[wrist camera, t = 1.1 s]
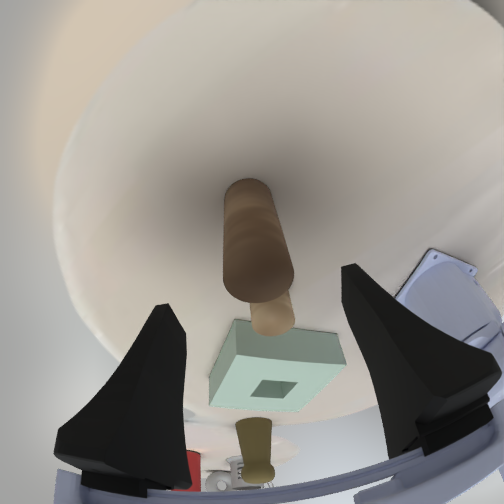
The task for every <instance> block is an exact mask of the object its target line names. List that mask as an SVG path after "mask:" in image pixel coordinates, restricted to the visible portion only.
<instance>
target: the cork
mask: <svg viewBox="0 0 504 504" xmlns="http://www.w3.org/2000/svg"><path fill="white" fill-rule="evenodd" d="M235 425H236V430H237V435H238V439H239V444H240V449H241V454H242V458H243V463H244V467H243V468H242V470H241V477H242V479H243V480H244V482H246V483H250V484H262V483H267V482H270V481H272V480H273V479H274V477H275V470H274V467H273V466H272V465H271V464H270V458H271V430H272V421H271V420H270V419H267V418H256V417H255V418H247V419H242V420H240V421H238V422H236V424H235Z"/></svg>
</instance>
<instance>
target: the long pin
mask: <svg viewBox="0 0 504 504" xmlns="http://www.w3.org/2000/svg"><path fill="white" fill-rule="evenodd" d="M293 279H294V269H293V266H292V262H291V259H290V255H289V252H288V248H287V245H286V241H285V238H284V235H283V231H282V228H281V225H280V221H279V218H278V215H277V211H276V208H275V205H274V202H273V198H272V195H271V192H270V190H269V188H268V187H267V186H266V185H265V184H264V183H262V182H261V181H259V180H256V179H250V178H249V179H242V180H239V181H237V182H235V183H233V184H232V185H231V186H230V187H229V188H228V190H227V192H226V194H225V200H224V243H223V282H224V285H225V288H226V289H227V291H228V292H229V293H230V294H231V295H232V296H233V297H235V298H237V299H239V300H241V301H244V302H248V303H264V302H268V301H271V300H274V299H276V298H278V297H280V296H281V295H283V294H284V293H285V292H286V291H287V290H288V289H289V287H290V286H291V284H292V282H293Z"/></svg>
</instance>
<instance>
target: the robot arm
mask: <svg viewBox="0 0 504 504" xmlns="http://www.w3.org/2000/svg"><path fill="white" fill-rule="evenodd" d="M477 271H478V269H477V268H476V267H475V266H472V265H470V264H468V263H465V262H463V261H461V260H458V259H456V258H453V257H451V256H448V255H446V254H444V253H441V252H439V251H436V250H434V249H432V250H429V251H428V252H427V254H426V256H425V257H424V259H423V260H422V261H421V263H420V264H419V266H418V267H417V269H416V270H415V272H414V273H413V275H412V276H411V277H410V279H409V280H408V282H407V283H406V284H405V286H404V287H403V288H402V290H401V291H400V292H399V294H398V295H397V296H396V298H394V297H392V296H391V295H390V294H389V293H388V292H387V291H385V290H384V289H383V288H382V287H381V286H380V285H379V284H378V283H376V282H375V281H374V280H373V279H372V278H371V277H370V276H369V275H368V274H367V273H366V272H365V271H364V270H363V269H361V268H360V267H359V266H358V265H357V264H356V263H354V264H350V265H346V266H342V267H341V282H342V305H343V308H344V311H345V314H346V317H347V320H348V323H349V325H350V328H351V330H352V332H353V335H354V337H355V339H356V341H357V344H358V346H359V348H360V350H361V353H362V355H363V357H364V360H365V362H366V364H367V367H368V370H369V372H370V376H371V379H372V382H373V386H374V389H375V393H376V397H377V401H378V405H379V409H380V413H381V418H382V423H383V427H384V433H385V438H386V445H387V451H388V456H389V460H387V461H384V462H381V463H378V464H375V465H372V466H369V467H366V468H363V469H359V470H356V471H352V472H349V473H345V474H341V475H337V476H333V477H328V478H324V479H320V480H315V481H310V482H305V483H299V484H293V485H287V486H280V487H272V488H265V489H254V490H241V491H221V492H188V491H168V490H174V489H178V490H188V489H189V488H190V487H191V486H192V485H193V483H192V479H191V474H190V469H189V464H188V458H187V451H186V444H185V434H184V421H183V393H184V381H185V369H186V357H187V346H186V333H185V331H184V329H183V328H182V326H181V324H180V323H179V321H178V319H177V317H176V316H175V314H174V312H173V310H172V309H171V307H170V305H169V303H167V304H162V305H156V306H155V307H154V309H153V311H152V312H151V314H150V316H149V317H148V319H147V321H146V323H145V324H144V326H143V328H142V329H141V331H140V333H139V335H138V336H137V338H136V340H135V341H134V343H133V345H132V346H131V348H130V349H129V351H128V353H127V354H126V356H125V357H124V359H123V360H122V362H121V363H120V365H119V366H118V368H117V369H116V371H115V372H114V373H113V375H112V376H111V377H110V379H109V380H108V381H107V382H106V384H105V385H104V386H103V387H102V388H101V389H100V390H99V392H98V393H97V394H96V395H95V396H94V397H93V398H92V400H91V401H90V402H89V403H88V404H87V405H86V406H85V407H84V408H82V409H81V410H80V411H79V412H78V413H77V414H76V415H75V416H74V417H73V418H71V419H70V420H69V421H68V422H66V423H65V424H64V425H63V426H62V427H60V428H59V429H58V433H57V438H56V443H55V448H54V455H55V456H56V457H57V458H58V459H60V460H62V461H63V462H66V463H68V464H70V465H72V466H74V467H76V468H78V469H81V470H82V475H79V474H76V473H73V472H69V471H65V470H61V469H58V470H57V477H56V484H55V494H54V504H278V503H285V502H292V501H298V500H304V499H309V498H315V497H320V496H325V495H329V494H333V493H338V492H342V491H345V490H349V489H352V488H357V487H360V486H363V485H367V484H370V483H373V482H376V481H379V480H382V479H385V478H388V477H391V476H393V475H394V476H393V477H392V478H391V480H390V481H388V482H385V483H382V484H379V485H377V486H374V487H371V488H368V489H365V490H362V491H359V492H358V493H357V494H355V495H354V496H353V497H354V502H355V504H446V503H448V502H449V501H451V500H453V499H454V498H456V497H458V496H460V495H461V494H463V493H464V492H466V491H467V490H469V489H470V488H472V487H474V486H475V485H477V484H478V483H479V482H481V481H482V480H484V479H485V478H486V477H488V476H489V475H491V474H492V473H493V472H495V471H496V470H497V469H499V471H500V474H501V476H502V478H503V481H504V322H503V323H502V318H501V315H500V312H499V310H498V309H497V307H496V306H495V304H494V303H493V302H492V300H491V299H490V298H489V296H488V295H487V294H486V292H485V291H484V290H483V288H482V287H481V286H480V284H479V283H478V282H477V281H476V279H475V278H474V276H475V274H476V273H477Z"/></svg>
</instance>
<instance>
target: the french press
mask: <svg viewBox="0 0 504 504" xmlns="http://www.w3.org/2000/svg"><path fill="white" fill-rule="evenodd" d="M226 461H227V462H228V463H230V466H231V484H232V489H233V490H254V489H260V488H261V486H263V488H264V483H262V484H250V483H246V482H244V480H243V479H242V478H241V477H240V476H241V473H239V472H241V470H242V468H243V467H244V463H243V458H242V456H235V457H230V458H227V459H226ZM270 482H271V481H270ZM271 483H272V482H271ZM267 484H268V482H267ZM268 485H269V484H268ZM272 486H273V484H272ZM273 487H274V486H273ZM269 488H270V486H269Z"/></svg>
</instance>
